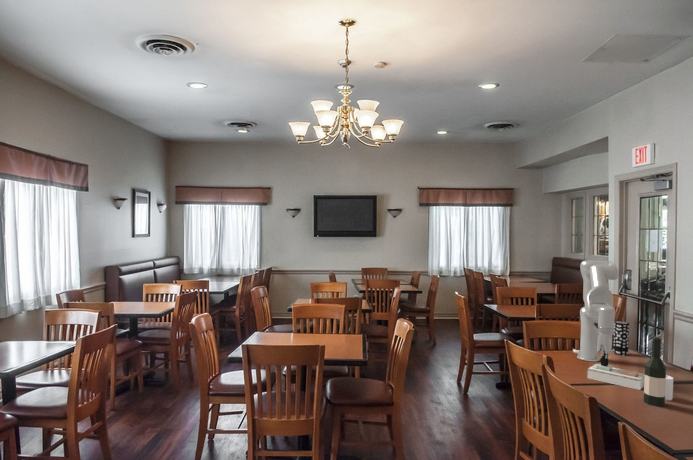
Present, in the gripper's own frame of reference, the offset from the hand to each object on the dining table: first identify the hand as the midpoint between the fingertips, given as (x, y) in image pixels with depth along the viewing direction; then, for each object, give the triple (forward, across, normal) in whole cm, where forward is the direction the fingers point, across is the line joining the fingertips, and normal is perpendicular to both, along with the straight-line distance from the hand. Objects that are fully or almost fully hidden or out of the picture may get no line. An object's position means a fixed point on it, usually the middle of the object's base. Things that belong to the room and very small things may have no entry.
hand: (604, 365), depth 254 cm
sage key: (+3, 0, 0) cm, 3 cm away
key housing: (+7, 0, +6) cm, 9 cm away
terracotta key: (+3, 0, +12) cm, 13 cm away
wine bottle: (+7, +23, +27) cm, 36 cm away
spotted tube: (+7, -65, -8) cm, 66 cm away
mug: (+7, +9, +27) cm, 29 cm away
